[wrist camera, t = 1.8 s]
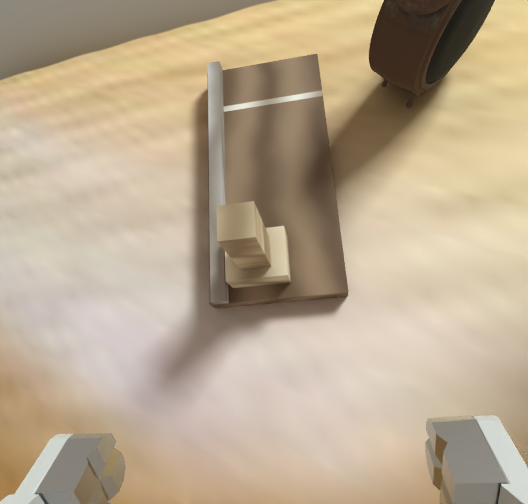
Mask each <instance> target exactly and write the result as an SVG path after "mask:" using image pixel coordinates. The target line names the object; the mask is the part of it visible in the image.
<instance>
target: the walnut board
mask: <svg viewBox="0 0 528 504" xmlns="http://www.w3.org/2000/svg"><path fill="white" fill-rule="evenodd" d="M208 169H209V267H210V305H211V306H213V307H214V308H222V307H233V306H245V305H256V304H267V303H278V302H290V301H301V300H312V299H323V298H335V297H346V296H348V286H347V278H346V271H345V263H344V255H343V248H342V240H341V232H340V225H339V217H338V209H337V202H336V194H335V186H334V179H333V171H332V163H331V156H330V148H329V140H328V133H327V125H326V117H325V110H324V102H323V94H322V87H321V79H320V72H319V64H318V56H317V54H313V55H307V56H302V57H296V58H291V59H285V60H279V61H274V62H268V63H262V64H257V65H251V66H245V67H240V68H234V69H229V70H222V67H221V64H220V62H213V63H208ZM251 201H254V203H255V205H256V207H257V210H258V212H259V214H260V216H261V219H262V221H263V223H264V226H265V228H269V227H278V226H284V227H285V231H286V234H287V239H288V251H289V263H290V276H291V283H282V284H272V285H261V286H251V287H240V288H232V287H231V286H230V285H229V284H228V283H227V282H226V277H225V250H224V249H223V248H222V247H221V245H220V244H219V243H218V242H217V206H220V205H228V204H235V203H243V202H251Z"/></svg>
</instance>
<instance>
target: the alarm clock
mask: <svg viewBox="0 0 528 504" xmlns="http://www.w3.org/2000/svg"><path fill="white" fill-rule="evenodd" d="M494 1H495V0H384V2H383V4H382V7H381V9H380V12H379V15H378V17H377V20H376V23H375V27H374V30H373V34H372V38H371V43H370V49H369V63H370V67H371V69H372V70H373V71H374V72H376V73H378V74H379V75H380V76H382V77H383V78H384V79H385V80H384V82H383V83H382V87H386V86H387V82H388V81H389V82H390V83H392V84H394V85H396V86H398V87H401V88H403V89H406V90H408V91H411V92H412V93H411V96H410V99H409V102H408V103H407V104H406V106H407V108H410V107H411V106H412V102H413V101H414V100H415V98H416V97H417V96H418V94H422V93H424V92H426V91H427V90H428V89H430V88H432V87H433V86H434V85H436V84H437V83H438V82H439V81H440V80H441V79H442V78H443V77H444V76H445V75H446V74H447V73H448V72H449V70H450V69H451V68H452V67H453V65H454V64H455V63H456V62H457V61H458V60H459V58H460V57H461V56H462V54H463V53H464V52H465V51H466V49H467V48H468V46H469V45H470V43H471V42H472V41H473V39H474V38H475V36H476V34H477V33H478V31H479V29H480V28H481V26H482V24H483V23H484V21H485V19H486V17H487V15H488V13H489V12H490V10H491V7H492V5H493V3H494Z"/></svg>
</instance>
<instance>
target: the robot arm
mask: <svg viewBox="0 0 528 504" xmlns="http://www.w3.org/2000/svg"><path fill="white" fill-rule="evenodd" d="M426 430H427V433H428V436H429V439H428V440H427V441H426V458H427V465H428V469H429V473H430V476H431V479H432V482H433V485H434V486H436V487H437V488H438V489H439V490H440V504H528V467H527V466H526V464H525V462H524V460H523V459H522V457H521V455H520V453H519V452H518V450H517V448H516V447H515V445H514V443H513V441H512V440H511V438H510V436H509V435H508V433H507V431H506V429H505V428H504V426H503V424H502V422H501V421H500V419H499V418H498V417H497V416H495V415H488V416H472V417H471V416H459V417H442V418H428V420H427V424H426ZM115 443H116V440H115V438H114V436H113V435H112V433H96V434H57V435H55V436H54V437H53V438H52V439H50V441H49V442H48V444H47V445H46V447H45V448H44V450H43V451H42V453H41V454H40V456H39V458H38V459H37V461H36V462H35V464H34V465H33V467H32V468H31V470H30V471H29V473H28V474H27V476H26V477H25V479H24V480H23V482H22V483H21V485H20V486H19V488H18V490H17V491H16V493H15V494H14V495H8V496H7V497H5V498H4V499H3V500H2V501H0V504H111V502H110V500H111V499H112V498H113V497H114V496H115V495H116V494H117V493H118V492H119V491H120V488H121V486H122V483H123V481H124V475H125V468H126V467H125V460H124V457H123V455H122V453H121V452H120V451H118V450H117V449H115V448H114V446H115Z"/></svg>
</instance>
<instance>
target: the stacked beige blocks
mask: <svg viewBox="0 0 528 504" xmlns="http://www.w3.org/2000/svg"><path fill="white" fill-rule="evenodd" d="M217 242H218V243H219V244H220V245H221V247H222V248H223V249H224V250H225V277H226V282H227V283H228V284H229V285H230V286H231V287H232V288H240V287H251V286H261V285H272V284H282V283H291V276H290V263H289V251H288V239H287V234H286V231H285V227H284V226H278V227H269V228H265V226H264V223H263V221H262V219H261V216H260V214H259V212H258V210H257V207H256V205H255V203H254V201H251V202H243V203H235V204H228V205H220V206H217Z"/></svg>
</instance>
